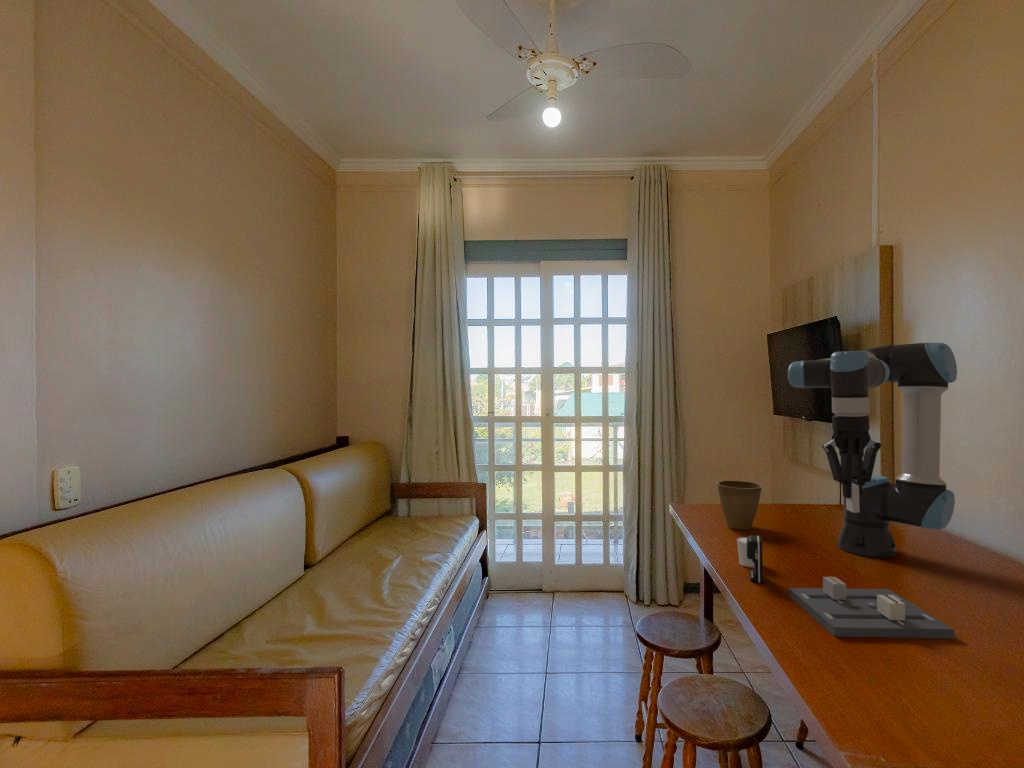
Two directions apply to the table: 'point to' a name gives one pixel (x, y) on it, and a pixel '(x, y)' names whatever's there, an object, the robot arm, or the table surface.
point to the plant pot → (739, 502)
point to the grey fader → (834, 588)
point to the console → (867, 615)
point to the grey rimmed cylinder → (743, 552)
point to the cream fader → (891, 607)
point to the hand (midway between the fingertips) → (852, 510)
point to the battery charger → (755, 557)
